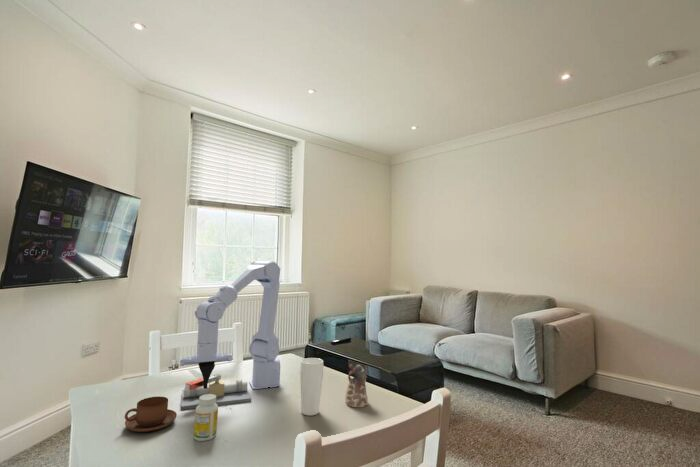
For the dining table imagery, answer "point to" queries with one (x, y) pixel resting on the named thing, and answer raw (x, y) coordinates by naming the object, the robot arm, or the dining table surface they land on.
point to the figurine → (356, 387)
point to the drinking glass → (311, 385)
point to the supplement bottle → (206, 418)
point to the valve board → (218, 400)
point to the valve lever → (201, 382)
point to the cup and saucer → (150, 415)
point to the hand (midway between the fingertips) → (205, 387)
